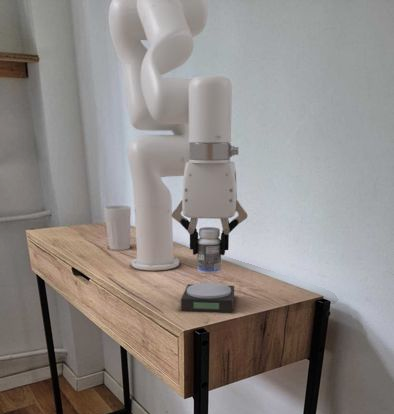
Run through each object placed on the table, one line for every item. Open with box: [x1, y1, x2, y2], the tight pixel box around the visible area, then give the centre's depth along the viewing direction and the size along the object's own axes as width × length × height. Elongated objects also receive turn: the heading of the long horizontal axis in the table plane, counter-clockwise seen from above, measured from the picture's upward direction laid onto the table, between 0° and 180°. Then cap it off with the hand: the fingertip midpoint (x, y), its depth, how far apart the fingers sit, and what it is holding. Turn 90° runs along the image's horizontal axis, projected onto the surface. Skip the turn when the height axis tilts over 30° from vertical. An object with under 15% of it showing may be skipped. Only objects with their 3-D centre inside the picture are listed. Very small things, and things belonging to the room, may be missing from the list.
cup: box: [103, 204, 132, 251], centre depth 146 cm, size 8×8×12 cm
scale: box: [180, 282, 235, 313], centre depth 99 cm, size 10×10×3 cm
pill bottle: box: [196, 226, 222, 275], centre depth 95 cm, size 5×5×8 cm
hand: (209, 252), depth 95 cm, fingers closed on pill bottle, 4 cm apart
